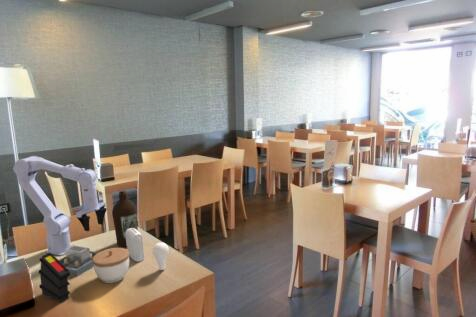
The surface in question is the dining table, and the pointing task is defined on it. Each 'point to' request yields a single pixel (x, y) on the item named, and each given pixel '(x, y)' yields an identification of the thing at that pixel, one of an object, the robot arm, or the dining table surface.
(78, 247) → the block
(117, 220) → the olive oil
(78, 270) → the tray
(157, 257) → the lightbulb
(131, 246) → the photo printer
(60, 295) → the black layered block
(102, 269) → the lidded bowl
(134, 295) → the dining table surface
